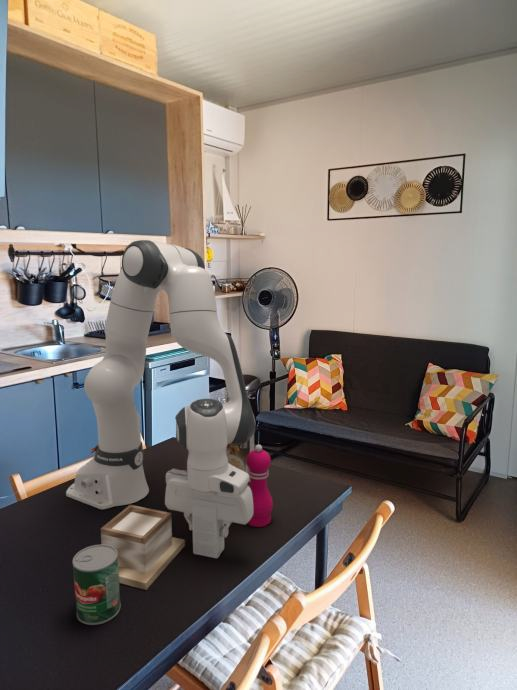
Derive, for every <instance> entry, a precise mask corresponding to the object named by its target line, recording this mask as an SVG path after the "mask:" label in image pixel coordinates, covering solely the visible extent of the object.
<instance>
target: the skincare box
mask: <svg viewBox="0 0 517 690" xmlns="http://www.w3.org/2000/svg"><path fill="white" fill-rule="evenodd" d="M222 526H225V524H224V520H219V519H217V508H213V507H208V506H203V505H198V504H192V529H193V531H192V553H193V554H194V555H199V556H202V557H207V558H213V559H218V558H219V557H220V555H221V553H222V552H223V551H224V550H225V538H224V537H220V536H219V534H220V533H219V530H220V528H221V527H222Z"/></svg>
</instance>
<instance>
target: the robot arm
mask: <svg viewBox="0 0 517 690" xmlns="http://www.w3.org/2000/svg"><path fill="white" fill-rule="evenodd" d="M205 267H206V266H205V261H204V259H203V257H202V256H201V255H200V254H199V253H198V252H196V251H194V250H193V249H190V248H187V247H185V248H184V247H183V246H180V245H177V244H173V243H167V242H165V243H164V242H158V241H151V240H149V239H145V240H144V239H139V240H133V241H132V242H130V243H129V244H128V245H127V246H126V247H125V249H124V251H123V254H122V257H121V269H120V271H119V274H118V276H117V279H116V281H115V284H114V286H113V290H112V293H111V298H110V302H109V305H108V306H109V307H108V311H107V316H106V319H105V324H104V325H105V326H104V334H105V352H104V356H103V358H102V359H101V360H100V361H99V362H98V363H96V364H94V365H93V366H92V367H91V368H90V369H89V372H88V373H87V374H86V377H85V379H84V384H83V388H84V392H85V395H86V396H87V398H88V399H89V400H90V401H91V404H92V407H93V410H94V413H95V414H94V415H95V417H96V423H97V440H98V441H97V442H98V443H97V445H95V447H92V448H91V449H90V451H91V452H90V454H93V453H95V454H94V455H93V458H92V459H90V460H89V461H87V462H86V463H85V464H83V465H82V466H81V467H80V468H79V469H78V470H77V472H76V474H75V477H74V482H73V483H72V484H71V485H70V486H69V487H68V488H67V489H66V492H65V496H66V497H68V498H70V499H73V500H76V501H78V502H81V503H83V504H86V505H89V506H91V507H94V508H97V509H99V510H106V509H110V508H113V507H119V506H126V505H132V504H133V503H137V502H139V501H140V500H142V499H144V498H146V496H148V494H149V492H150V488H149V485H148V483H147V479H146V475H145V471H144V466H143V463H144V448H143V446H144V445H143V442H142V439H141V437H142V436H141V417H140V413H139V412H138V411H137V408H136V404H135V399H134V390H135V387H136V386H137V385H138V384H139V383H140V382H141V381H142V379H143V376H144V372H145V364H146V357H147V341H148V338H149V332H150V327H151V324H152V320H153V315H154V312H155V311H154V310H155V307H156V302H157V298H158V295H159V293H160V292H161V291H162V290H163V291H164V292H165V293H166V295H167V297H168V298H167V299H168V313H169V327H170V332H171V336H172V338H173V339H174V341H175V342H176V344H178V345H179V346H180V347H181V348H183V349H185V350H186V351H189V352H190V353H191V352H192V353H195V354H197V355H201V356H204V357H207V358H209V359H211V360H213V361H215V362H216V363H217V364H218V365H219V366H220V369H221V370H222V374H223V378H224V381H225V387H226V390H227V394H228V398H229V399H228V401H226V402H221V401H219V400H217V399H213V398H200V399H196V400H194V401H192V402H191V403H190V404H189V405H188V406H184V407H182V408H181V409H180V410H179V411H178V413H176V415H175V423H176V424H175V425H176V426H175V430H176V431H175V441H176V442H177V443H178V444H179V445H180V446H181V447H182V448H183V449H184V450H188V455H187V459H186V470H185V469H182V470H181V469H177V468H171V469H170V470H168V471H167V472H166V474H165V484H166V487H165V491H164V493H165V494H164V495H165V496H164V505H165V507H166V508H167V509H168V510H170V511H177V512H180V513H183V516H184V518H185V520H186V522H187V523H188V529H189V531H192V532H193V529H192V504H198V505H203V506H208V507H213V508H217V519H219V520H224V526H222V527H221V528H220V530H219V533H220V534H219V536H220V537H224V539H225V538H226V539H227V537H228V535H229V528H230V526H231V525H232V523H234V524H235V523H236V524H240V525H247V524H248V522H249V521H250V519H251V518H252V516H253V511H254V509H253V496H252V491H251V489H250V485H249V484H248V483H250V482H249V474H248V473H246V472H244V471H242V470H240V469H238V468H236V467H234V466H232V465H231V464H229V463H228V458H227V455H226V448H227V444H229V445H237V444H245V443H246V442H247V441H248V440H249V439H250V438H251V437H252V436H253V434H254V435H255V433H256V419H255V415H254V412H253V409H252V406H251V402H250V400H249V399H250V398H249V396H248V391H247V387H246V384H245V378H244V376H243V375H244V374H243V371H242V370H243V369H242V367H241V366H242V365H241V362H240V359H239V354H238V351H237V347H236V345H235V342H234V339H233V337H232V336H231V335H230V334H228V333H226V332H225V331H224V330H223V328H222V327H221V325H220V322H219V318H218V313H217V310H218V309H217V300H216V299H217V298H216V294H215V288H214V285H213V281H212V277H211V276H212V275H210V273H209V271H207V270H206V268H205Z"/></svg>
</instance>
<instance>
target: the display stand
mask: <svg viewBox="0 0 517 690" xmlns="http://www.w3.org/2000/svg"><path fill="white" fill-rule="evenodd" d="M172 531H173V529H172V512H167V511H163V510H160V509H159V510H158V509H154V508H153V509H152V508H147V507H142V506H140V505H139V506H138V505H134V504H128V506H126V507H125V508H124V509H122V511H121V512H119V513H118V514H117V515H116V516H114V517H113V518H112V519H110V521H108V522H107V523H106V524H104V525H103V526H102V527H101V528H100V541H101V542H100V543H101V544H100V545H109V546H112V547H114V548H115V549H116V550H117V552H118V569H119V570H118V572H119V584H123V585H126V586H130V587H132V588H133V587H134V588H137V589H141V590H145V591H146V590H148V589H149V588H150V587H151V586H152V585H153V583H154V582H155V581H156V580H157V578H158V577H159V576H160V574H162V572H163V571H164V570H165V569H166V568H167V567H168V566H169V564H170V563H171V562H172V561H173V560H174V559H175V558H176V557H177V555H179V553H180V552H181V551H182V549H183V548H184V547H185V545H186V544H185V543H186V540H185V539H183V538H177V537H173V532H172Z"/></svg>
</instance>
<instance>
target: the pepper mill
mask: <svg viewBox="0 0 517 690" xmlns="http://www.w3.org/2000/svg"><path fill="white" fill-rule="evenodd" d="M271 459H272V458H271V456H270V453H268V452H267V451H265V450H264V449H263V446H262V445H261V444H256V445H254V450H253V451H251V452H250V453H249V454H248V456H247V459H246V464H247V466H248V468H249V470H248V472H249V473H248V474H249V477H250V482H249V484H250V485H249V487H250V489H251V491H252V496H253V509H254V511H253V516H252V518H251V519H250V521H249V522H248V523H247V524H248V525H249V526H251V527H255V528H262V527H266V526H268V525H269V524H270V523H271V521H272V513H271V511H272V510H273V506H274V502H273V497H272V495H271V493H270V491H269V488H268V484H267V483H268V482H267V481H268V480H267V479H268V477H269V475H270V474H269V472H270V471H269V467H271V462H272V460H271ZM267 524H268V525H267Z"/></svg>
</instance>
